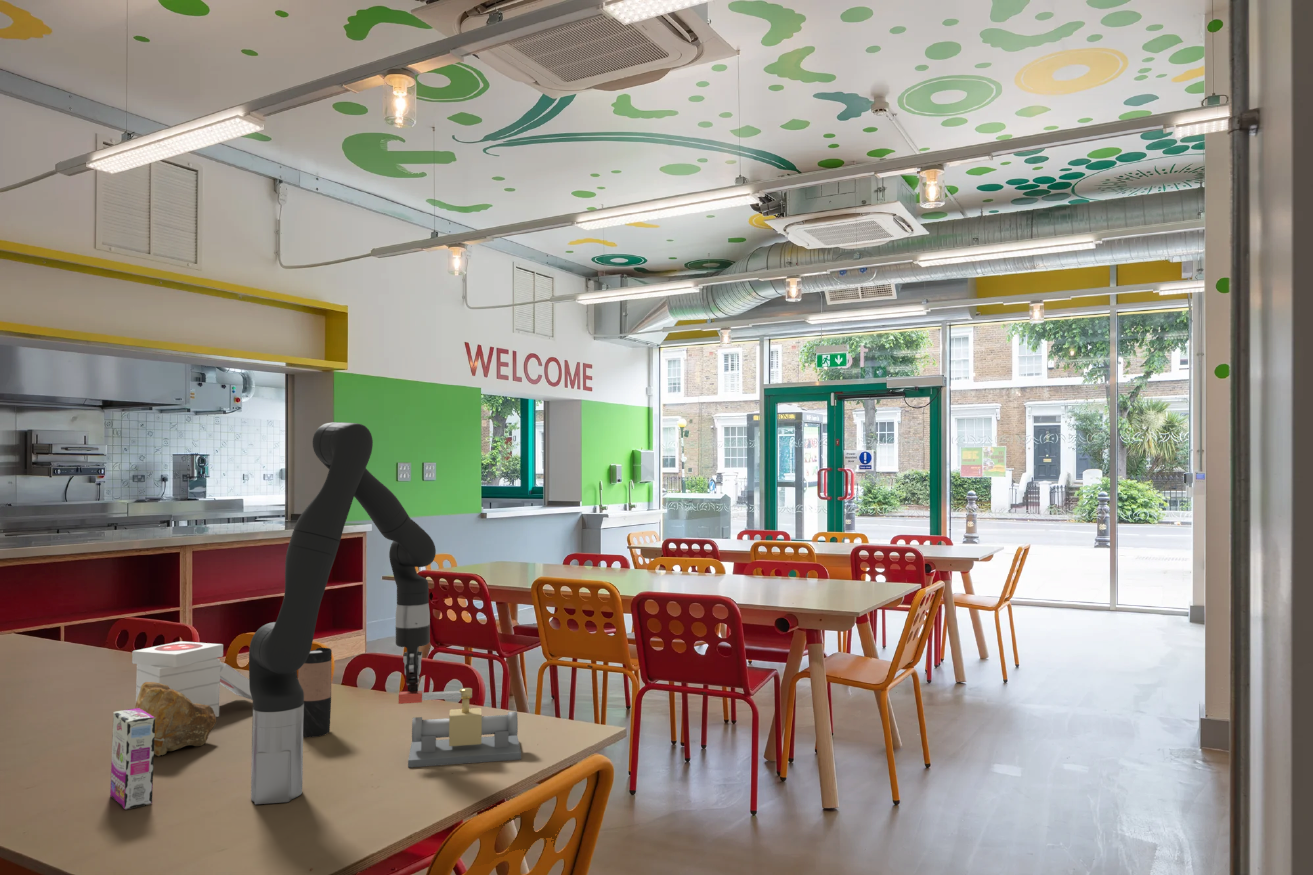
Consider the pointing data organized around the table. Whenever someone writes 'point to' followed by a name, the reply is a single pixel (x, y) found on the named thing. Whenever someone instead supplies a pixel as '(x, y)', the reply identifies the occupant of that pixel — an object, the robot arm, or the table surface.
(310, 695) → the travel mug
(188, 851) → the table surface
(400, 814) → the table surface
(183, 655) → the pizza boxes
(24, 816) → the table surface
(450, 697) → the lever
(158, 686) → the rough brown rock
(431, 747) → the valve stand
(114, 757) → the candy bar box
